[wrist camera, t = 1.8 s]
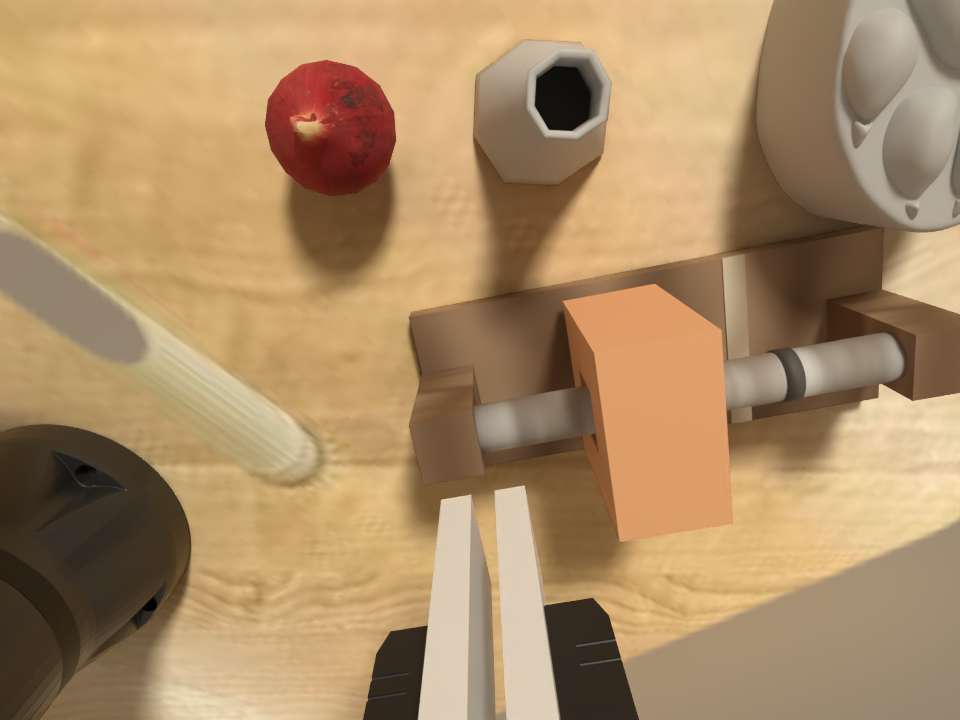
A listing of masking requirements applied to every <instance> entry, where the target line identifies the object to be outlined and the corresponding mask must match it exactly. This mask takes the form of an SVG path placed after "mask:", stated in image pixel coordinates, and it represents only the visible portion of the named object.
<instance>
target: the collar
mask: <svg viewBox="0 0 960 720" xmlns="http://www.w3.org/2000/svg"><path fill="white" fill-rule="evenodd" d="M563 307H564V314H565V321H566V327H567V334H568V341H569V347H570V354H571V361H572V367H573V374H574V381H575V387H580V386H585V385H587V387H588V389H589V391H590V395H591V402H592V409H593V416H594V423H595V430H596V434H590V435H585V436H583V441H584V448H585V450H586V453H587V456H588V458H589V461H590V464H591V466H592V469H593V472H594V474H595V477H596V480H597V483H598V485H599V488H600V491H601V493H602V496H603V499H604V501H605V504H606V507H607V509H608V512H609V515H610V517H611V520H612V523H613V525H614V528H615V531H616V533H617V536H618V539H619V541H620V542H624V541H630V540H636V539H642V538H648V537H655V536H661V535H667V534H673V533H679V532H685V531H691V530H697V529H704V528H710V527H716V526H722V525H728V524H733V513H732V497H731V480H730V463H729V447H728V430H727V414H726V397H725V381H724V364H723V347H722V331H721V329H719V328H718V327H716V326H715V325H714V324H712V323H711V322H709V321H708V320H706V319H705V318H704V317H702V316H701V315H699V314H698V313H696V312H695V311H693V310H692V309H691V308H689V307H688V306H686V305H685V304H683V303H682V302H680V301H679V300H678V299H676V298H675V297H673V296H672V295H670V294H669V293H668V292H666V291H665V290H663V289H662V288H660V287H659V286H657V285H656V284H651V285H646V286H640V287H635V288H630V289H624V290H619V291H614V292H608V293H603V294H598V295H592V296H587V297H582V298H576V299H571V300H566V301H563Z"/></svg>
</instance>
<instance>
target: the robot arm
mask: <svg viewBox="0 0 960 720" xmlns="http://www.w3.org/2000/svg"><path fill="white" fill-rule="evenodd" d="M495 509H496V528H497V547H498V566H499V585H500V604H501V623H502V641H503V660H504V679H505V698H506V715H507V720H639V718H638V715H637V712H636V708H635V705H634V701H633V698H632V694H631V691H630V687H629V684H628V681H627V677H626V674H625V670H624V667H623V663H622V661H621V656H620V653H619V649H618V646H617V642H616V640H615V635H614V632H613V629H612V625H611V622H610V618H609V615H608V614H607V613H606V612H605V611H604V610H603V609H602V607H601V606H600V605H599V604H598V603H597V602H596V601H595V600H594V599H593V598H589V599H583V600H576V601H570V602H564V603H557V604H551V605H546V599H545V592H544V586H543V579H542V573H541V568H540V563H539V558H538V552H537V547H536V542H535V537H534V531H533V526H532V521H531V516H530V511H529V505H528V500H527V495H526V490H525V486H519V487H513V488H507V489H501V490H495ZM189 551H190V538H189V530H188V525H187V522H186V518H185V515H184V513H183V510H182V508H181V506H180V504H179V502H178V500H177V498H176V496H175V495H174V493H173V492H172V490H171V489H170V487H169V486H168V485H167V483H166V482H165V481H164V480H163V478H162V477H161V476H160V475H159V474H158V473H157V472H156V471H155V470H154V469H153V468H152V467H151V466H150V465H149V464H148V463H147V462H145V461H144V460H143V459H142V458H140V457H139V456H138V455H136V454H135V453H133V452H132V451H130V450H129V449H127V448H125V447H124V446H122V445H120V444H118V443H117V442H115V441H113V440H110V439H108V438H106V437H104V436H101V435H99V434H96V433H93V432H90V431H87V430H83V429H79V428H74V427H69V426H61V425H29V426H22V427H18V428H13V429H10V430H7V431H4V432H2V433H0V720H39V719H40V718H41V717H42V715H43V714H44V713H45V711H46V710H47V709H48V708H49V706H50V705H51V703H52V702H53V701H54V699H55V698H56V697H57V695H58V694H59V693H60V692H61V690H62V689H63V688H64V687H65V685H66V684H67V683H68V682H69V680H70V679H71V678H72V677H73V676H74V675H75V674H76V673H77V672H79V671H80V670H81V669H83V668H84V667H86V666H87V665H89V664H90V663H91V662H93V661H94V660H96V659H97V658H98V657H100V656H101V655H103V654H104V653H105V652H107V651H108V650H110V649H111V648H113V647H114V646H115V645H117V644H118V643H120V642H121V641H122V640H124V639H125V638H127V637H128V636H129V635H131V634H132V633H134V632H135V631H137V630H138V629H139V628H141V627H142V626H143V625H145V624H146V623H147V622H148V621H149V620H150V619H151V618H152V617H153V616H154V615H155V614H156V613H157V612H158V611H159V610H160V609H161V607H162V606H163V605H164V603H165V602H166V601H167V599H168V598H169V596H170V595H171V594H172V592H173V591H174V589H175V588H176V587H177V585H178V584H179V582H180V580H181V578H182V576H183V574H184V572H185V569H186V567H187V563H188V558H189ZM363 720H496V713H495V683H494V653H493V623H492V593H491V580H490V576H489V572H488V567H487V563H486V558H485V554H484V549H483V545H482V541H481V536H480V532H479V527H478V523H477V519H476V514H475V510H474V505H473V501H472V496H471V495H466V496H460V497H454V498H448V499H442V500H441V506H440V516H439V525H438V535H437V544H436V554H435V563H434V573H433V582H432V592H431V601H430V611H429V620H428V626H423V627H416V628H410V629H404V630H397V631H391V632H390V633H389V635H388V637H387V638H386V640H385V641H384V643H383V644H382V646H381V647H380V649H379V651H378V652H377V654H376V659H375V664H374V669H373V674H372V682H371V684H370V689H369V693H368V702H367V703H366V708H365V713H364V718H363Z"/></svg>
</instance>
